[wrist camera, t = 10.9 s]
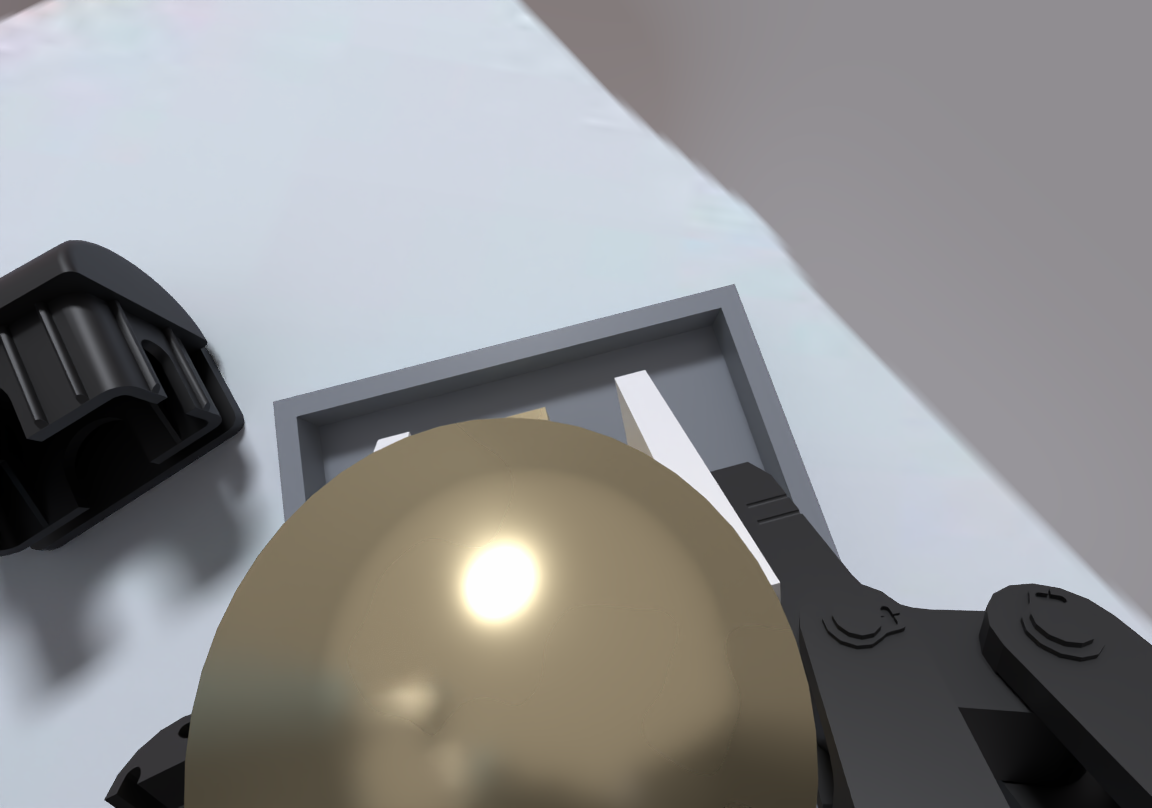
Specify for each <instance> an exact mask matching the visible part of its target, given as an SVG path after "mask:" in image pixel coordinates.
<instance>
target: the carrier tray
mask: <svg viewBox="0 0 1152 808" xmlns="http://www.w3.org/2000/svg"><path fill="white" fill-rule="evenodd" d="M643 370H646V372H647V374H648V375H649V377H650V378H651V380H652V381H653V383H654V385H655V386H656V388H657V389H658V391H659V392H660V394H661V396H662V397H663V399H664V400H665V402H666V403H667V405H668V407H669V408H670V410H671V411H672V413H673V415H674V416H675V418H676V419H677V421H678V422H679V424H680V426H681V427H682V429H683V430H684V432H685V433H686V435H687V437H688V438H689V440H690V441H691V443H692V444H693V446H694V448H695V449H696V451H697V452H698V454H699V455H700V457H701V459H702V460H703V462H704V463H705V465H706V467H707V468H708V470H709V471H710V472H711V471H715V470H719V469H722V468H726V467H730V466H734V465H737V464H741V463H745V462H749V463H751V464H753V465H755V466H756V467H758V468H760V469H762V470H764V471H765V472H767V473H769V474H771V475H772V476H773V478H774V479H775V480H776V481H777V483H778V484H779V485H780V486H781V488H782V489H783V490H784V491H785V493H786V495H787V497H788V498H790V499H791V500H792V501H793V502H794V504H795V505H796V506H797V507H798V509H799V511H800V513H801V514H803V515H804V516H805V517H806V519H807V520H808V521H809V522H810V524H811V525H812V526H813V527H814V528H815V530H816V531H817V532H818V533H819V535H820V536H821V537H822V538H823V540H824V541H825V542H826V543H827V545H828V546H829V547H830V548H831V550H832V551H833V552H834V553H835V554H836V556H837V557H838V558H839V559H840V557H839V555H838V552H837V549H836V547H835V544H834V542H833V539H832V536H831V534H830V531H829V529H828V526H827V523H826V521H825V518H824V516H823V513H822V510H821V508H820V505H819V503H818V500H817V497H816V495H815V492H814V490H813V487H812V484H811V482H810V479H809V477H808V474H807V471H806V469H805V466H804V464H803V461H802V458H801V456H800V453H799V451H798V448H797V445H796V443H795V440H794V438H793V435H792V432H791V430H790V427H789V425H788V422H787V419H786V417H785V414H784V411H783V409H782V406H781V404H780V401H779V398H778V396H777V393H776V391H775V388H774V385H773V383H772V380H771V378H770V375H769V372H768V370H767V367H766V365H765V362H764V359H763V357H762V354H761V352H760V349H759V346H758V344H757V341H756V339H755V336H754V333H753V331H752V328H751V326H750V323H749V320H748V318H747V315H746V313H745V310H744V307H743V305H742V302H741V300H740V297H739V294H738V292H737V289H736V287H735V284H733V285H729V286H725V287H721V288H717V289H713V290H709V291H705V292H701V293H697V294H694V295H690V296H686V297H682V298H678V299H674V300H670V301H666V302H662V303H658V304H654V305H651V306H647V307H643V308H639V309H635V310H631V311H627V312H623V313H619V314H615V315H611V316H607V317H604V318H600V319H596V320H592V321H588V322H584V323H580V324H576V325H572V326H568V327H564V328H561V329H557V330H553V331H549V332H545V333H541V334H537V335H533V336H529V337H525V338H521V339H517V340H514V341H510V342H506V343H502V344H498V345H494V346H490V347H486V348H482V349H478V350H474V351H471V352H467V353H463V354H459V355H455V356H451V357H447V358H443V359H439V360H435V361H431V362H427V363H424V364H420V365H416V366H412V367H408V368H404V369H400V370H396V371H392V372H388V373H384V374H381V375H377V376H373V377H369V378H365V379H361V380H357V381H353V382H349V383H345V384H341V385H337V386H334V387H330V388H326V389H322V390H318V391H314V392H310V393H306V394H302V395H298V396H294V397H291V398H287V399H283V400H279V401H275V402H273V405H274V416H275V426H276V436H277V447H278V457H279V467H280V478H281V488H282V498H283V509H284V519H285V522H286V521H287V520H288V519H289V518H290V517H291V516H292V515H293V514H294V513H295V512H296V511H297V510H298V509H299V508H300V507H301V506H302V505H303V504H304V503H305V502H306V501H307V500H308V499H309V498H310V497H311V496H312V495H313V494H315V493H316V492H317V491H318V490H320V489H321V488H322V487H323V486H325V485H326V484H327V483H328V482H330V481H331V480H332V479H333V478H335V477H336V476H337V475H338V474H340V473H341V472H343V471H344V470H346V469H347V468H349V467H351V466H352V465H354V464H355V463H357V462H359V461H360V460H362V459H363V458H365V457H367V456H368V455H370V454H371V453H373V452H374V449H375V447H376V444H377V441H378V440H379V439H383V438H387V437H391V436H395V435H399V434H402V433H406V432H410V434H411V436H412V435H415V434H418V433H421V432H424V431H427V430H430V429H433V428H436V427H439V426H444V425H449V424H455V423H460V422H465V421H470V420H478V419H493V418H506V417H509V416H512V415H516V414H520V413H524V412H528V411H531V410H535V409H539V408H543V407H545V408H546V411H547V413H548V416H549V418H550V421H553V422H558V423H563V424H569V425H574V426H579V427H582V428H585V429H588V430H591V431H594V432H597V433H600V434H603V435H606V436H609V437H612V438H614V439H616V440H618V441H620V442H622V443H624V444H627V445H628V443H627V438H626V433H625V428H624V423H623V418H622V413H621V409H620V404H619V399H618V394H617V389H616V384H615V379H614V378H616V377H620V376H624V375H628V374H632V373H635V372H639V371H643ZM840 561H841V560H840ZM816 808H818V806H817V805H816Z"/></svg>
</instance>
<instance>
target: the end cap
mask: <svg viewBox="0 0 1152 808" xmlns="http://www.w3.org/2000/svg"><path fill="white" fill-rule="evenodd" d="M206 345H207V341H206V339H205V337H204V336H203V334H202V332H201V331H200V329H199V328H198V327H197V325H196V324H195V322H194V321H193V320H192V318H191V317H190V316H189V315H188V314H187V312H186V311H185V310H184V309H183V308H182V307H181V306H180V305H179V304H178V302H177V301H176V300H175V299H174V298H173V297H172V296H171V295H170V294H169V293H168V292H167V291H165V290H164V289H163V288H162V287H161V286H160V285H159V284H158V283H157V282H155V281H154V280H153V279H152V278H151V277H150V276H148V275H147V274H146V273H144V272H143V271H142V270H141V269H139V268H138V267H137V266H135V265H134V264H132V263H131V262H129V261H128V260H126V259H125V258H123V257H121V256H120V255H118V254H116V253H114V252H112V251H110V250H109V249H107V248H104V247H102V246H99V245H97V244H94V243H90V242H86V241H82V240H69V241H66V242H64V243H62V244H60V245H58V246H56V247H54V248H53V249H51V250H49V251H47V252H45V253H44V254H42V255H40V256H38V257H37V258H35V259H33V260H31V261H30V262H28V263H26V264H24V265H22V266H21V267H19V268H17V269H15V270H14V271H12V272H10V273H8V274H7V275H5V276H3V277H1V278H0V556H5V555H10V554H13V553H17V552H19V551H22V550H24V549H26V548H28V547H31V548H32V549H36V550H54V549H56V548H59V547H61V546H63V545H64V544H66V543H67V542H69V541H70V540H72V539H73V538H75V537H77V536H78V535H80V534H81V533H83V532H84V531H86V530H87V529H89V528H91V527H92V526H94V525H95V524H97V523H98V522H100V521H101V520H103V519H105V518H106V517H108V516H109V515H111V514H112V513H114V512H115V511H117V510H119V509H120V508H122V507H123V506H125V505H126V504H128V503H129V502H131V501H133V500H134V499H136V498H137V497H139V496H140V495H142V494H143V493H145V492H147V491H148V490H150V489H151V488H153V487H154V486H156V485H157V484H159V483H161V482H162V481H164V480H165V479H167V478H168V477H170V476H171V475H173V474H175V473H176V472H178V471H179V470H181V469H182V468H184V467H185V466H187V465H189V464H190V463H192V462H193V461H195V460H196V459H198V458H199V457H201V456H202V455H204V454H206V453H207V452H209V451H210V450H212V449H213V448H215V447H216V446H218V445H220V444H221V443H223V442H224V441H226V440H227V439H229V438H230V437H232V436H234V435H235V434H237V433H238V432H239V431H240V430H241V429H242V427H243V423H244V418H243V414H242V412H241V410H240V408H239V407H238V405H237V403H236V401H235V399H234V397H233V396H232V394H231V392H230V390H229V388H228V386H227V384H226V383H225V381H224V379H223V377H222V375H221V373H220V371H219V370H218V368H217V366H216V364H215V362H214V360H213V358H212V357H211V355H210V354H209V352H208V351H207V349H206V348H205V346H206Z"/></svg>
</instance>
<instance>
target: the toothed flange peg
mask: <svg viewBox="0 0 1152 808" xmlns="http://www.w3.org/2000/svg"><path fill="white" fill-rule="evenodd" d="M817 792H818V763H817V741H816V728H815V722H814V716H813V710H812V703H811V697H810V691H809V685H808V681H807V678H806V674H805V671H804V667H803V664H802V660H801V657H800V653H799V650H798V646H797V642H796V639H795V637H794V634H793V632H792V630H791V627H790V625H789V622H788V620H787V618H786V615H785V613H784V610H783V608H782V606H781V603H780V601H779V598H778V597H777V595H776V593H775V591H774V589H773V588H772V586H771V584H770V582H769V581H768V579H767V577H766V575H765V573H764V572H763V570H762V568H761V566H760V564H759V563H758V561H757V560H756V558H755V557H754V555H753V554H752V553H751V551H750V550H749V549H748V547H747V546H746V544H745V543H744V542H743V540H742V539H741V538H740V536H739V535H738V533H737V532H736V531H735V529H734V528H733V527H732V526H731V525H730V524H729V523H728V521H727V520H726V519H725V518H724V517H723V516H722V515H721V514H720V513H719V512H718V511H717V510H716V509H715V508H714V506H713V505H712V504H711V503H710V502H709V501H708V500H707V499H706V498H705V497H704V496H703V495H701V494H700V493H699V492H698V491H697V490H695V489H694V488H693V487H692V486H691V485H689V484H688V483H687V482H686V481H685V480H683V479H682V478H681V477H680V476H679V475H677V474H676V473H675V472H673V471H672V470H670V469H669V468H667V467H665V466H664V465H662V464H661V463H659V462H658V461H656V460H655V459H653V458H651V457H650V456H648V455H647V454H645V453H643V452H641V451H639V450H637V449H635V448H633V447H631V446H629V445H627V444H624V443H622V442H620V441H618V440H616V439H614V438H612V437H609V436H606V435H603V434H600V433H597V432H594V431H591V430H588V429H585V428H582V427H579V426H574V425H569V424H563V423H558V422H553V421H550V418H549V416H548V413H547V411H546V408H545V407H543V408H539V409H535V410H531V411H528V412H524V413H520V414H516V415H512V416H509V417H506V418H493V419H478V420H470V421H465V422H460V423H455V424H449V425H444V426H439V427H436V428H433V429H430V430H427V431H424V432H421V433H418V434H415V435H412V436H409V437H406V438H403V439H401V440H399V441H397V442H395V443H393V444H390V445H388V446H386V447H384V448H382V449H380V450H378V451H375V452H373V453H371V454H370V455H368V456H367V457H365V458H363V459H362V460H360V461H359V462H357V463H355V464H354V465H352V466H351V467H349V468H347V469H346V470H344V471H343V472H341V473H340V474H338V475H337V476H336V477H335V478H333V479H332V480H331V481H330V482H328V483H327V484H326V485H325V486H323V487H322V488H321V489H320V490H318V491H317V492H316V493H315V494H313V495H312V496H311V497H310V498H309V499H308V500H307V501H306V502H305V503H304V504H303V505H302V506H301V507H300V508H299V509H298V510H297V511H296V512H295V513H294V514H293V515H292V516H291V517H290V518H289V519H288V520H287V521H286V522H285V523H284V524H283V525H282V526H281V528H280V529H279V530H278V531H277V533H276V534H275V535H274V536H273V538H272V539H271V540H270V541H269V543H268V544H267V545H266V546H265V548H264V549H263V550H262V551H261V553H260V554H259V555H258V557H257V558H256V560H255V561H254V563H253V565H252V566H251V568H250V569H249V571H248V572H247V574H246V576H245V577H244V579H243V580H242V582H241V584H240V585H239V587H238V588H237V590H236V592H235V594H234V596H233V598H232V600H231V602H230V604H229V606H228V608H227V610H226V612H225V614H224V616H223V618H222V620H221V622H220V624H219V626H218V628H217V631H216V634H215V636H214V639H213V642H212V645H211V647H210V650H209V653H208V656H207V658H206V661H205V664H204V667H203V669H202V673H201V677H200V681H199V685H198V689H197V693H196V697H195V701H194V706H193V710H192V714H191V720H190V728H189V735H188V743H187V751H186V758H185V790H184V808H816V805H817Z"/></svg>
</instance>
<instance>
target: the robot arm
mask: <svg viewBox="0 0 1152 808" xmlns="http://www.w3.org/2000/svg"><path fill="white" fill-rule="evenodd" d="M614 379H615V384H616V389H617V394H618V399H619V404H620V409H621V413H622V418H623V423H624V428H625V433H626V438H627V443H628V445H629V446H631V447H633V448H635V449H637V450H639V451H641V452H643V453H645V454H647V455H648V456H650V457H651V458H653V459H655V460H656V461H658V462H659V463H661V464H662V465H664V466H665V467H667V468H669V469H670V470H672V471H673V472H675V473H676V474H677V475H679V476H680V477H681V478H682V479H683V480H685V481H686V482H687V483H688V484H689V485H691V486H692V487H693V488H694V489H695V490H697V491H698V492H699V493H700V494H701V495H703V496H704V497H705V498H706V499H707V500H708V501H709V502H710V503H711V504H712V505H713V506H714V508H715V509H716V510H717V511H718V512H719V513H720V514H721V515H722V516H723V517H724V518H725V519H726V520H727V521H728V523H729V524H730V525H731V526H732V527H733V528H734V529H735V531H736V532H737V533H738V535H739V536H740V538H741V539H742V540H743V542H744V543H745V544H746V546H747V547H748V549H749V550H750V551H751V553H752V554H753V555H754V557H755V558H756V560H757V561H758V563H759V564H760V566H761V568H762V570H763V572H764V573H765V575H766V577H767V579H768V581H769V582H770V584H771V586H772V588H773V589H774V591H775V593H776V595H777V597H778V598H779V601H780V603H781V606H782V608H783V610H784V613H785V615H786V618H787V620H788V622H789V625H790V627H791V630H792V632H793V634H794V637H795V639H796V642H797V646H798V650H799V653H800V657H801V660H802V664H803V667H804V671H805V674H806V678H807V681H808V685H809V691H810V697H811V703H812V710H813V716H814V722H815V728H816V741H817V763H818V792H817V806H818V808H1152V645H1151V644H1150V643H1148V642H1147V641H1146V640H1145V639H1143V638H1142V637H1141V636H1140V635H1138V634H1137V633H1136V632H1135V631H1133V630H1132V629H1131V628H1130V627H1128V626H1127V625H1126V624H1124V623H1123V622H1122V621H1121V620H1119V619H1118V618H1117V617H1116V616H1114V615H1113V614H1111V613H1110V612H1108V611H1106V610H1105V609H1103V608H1102V607H1100V606H1098V605H1097V604H1095V603H1094V602H1092V601H1090V600H1089V599H1087V598H1084V597H1081V596H1079V595H1076V594H1074V593H1071V592H1068V591H1066V590H1063V589H1061V588H1056V587H1050V586H1044V585H1038V584H1021V585H1009V586H1007V587H1005V588H1004V589H1002V590H1000V591H998V592H996V593H994V594H993V595H992V597H991V599H990V601H989V603H988V605H987V607H986V611H962V610H929V609H920V608H912V607H908V606H904V605H901V604H899V603H897V602H896V601H894V600H893V599H891V598H890V597H889V596H887V595H886V594H884V593H883V592H881V591H879V590H876V589H873V588H871V587H868V586H865V585H862V584H861V583H860V582H859V581H858V580H857V579H856V578H855V577H854V576H853V575H852V574H851V573H850V572H849V571H848V569H847V568H846V567H845V566H844V564H843V563H842V562H841V561H840V559H839V558H838V557H837V556H836V554H835V553H834V552H833V551H832V550H831V548H830V547H829V546H828V545H827V543H826V542H825V541H824V540H823V538H822V537H821V536H820V535H819V533H818V532H817V531H816V530H815V528H814V527H813V526H812V525H811V524H810V522H809V521H808V520H807V519H806V517H805V516H804V515H803V514H801V513H800V511H799V509H798V507H797V506H796V505H795V504H794V502H793V501H792V500H791V499H790V498H788V497H787V495H786V493H785V491H784V490H783V489H782V488H781V486H780V485H779V484H778V483H777V481H776V480H775V479H774V478H773V476H772V475H771V474H769V473H767V472H765V471H764V470H762V469H760V468H758V467H756V466H755V465H753V464H751V463H749V462H745V463H741V464H737V465H734V466H730V467H726V468H722V469H719V470H715V471H711V472H710V471H709V470H708V468H707V467H706V465H705V463H704V462H703V460H702V459H701V457H700V455H699V454H698V452H697V451H696V449H695V448H694V446H693V444H692V443H691V441H690V440H689V438H688V437H687V435H686V433H685V432H684V430H683V429H682V427H681V426H680V424H679V422H678V421H677V419H676V418H675V416H674V415H673V413H672V411H671V410H670V408H669V407H668V405H667V403H666V402H665V400H664V399H663V397H662V396H661V394H660V392H659V391H658V389H657V388H656V386H655V385H654V383H653V381H652V380H651V378H650V377H649V375H648V374H647V372H646V370H643V371H639V372H635V373H632V374H628V375H624V376H620V377H616V378H614ZM409 436H411V434H410V432H406V433H402V434H399V435H395V436H391V437H387V438H383V439H379V440H378V441H377V444H376V447H375V449H374V452H375V451H378V450H380V449H382V448H384V447H386V446H388V445H390V444H393V443H395V442H397V441H399V440H401V439H403V438H406V437H409ZM190 720H191V715H188V716H185V717H183V718H181V719H179V720H178V721H176V722H174V723H173V724H171V725H169V726H168V727H166V728H164V729H163V730H161V731H160V732H159V733H158V734H156V735H155V736H154V737H153V738H152V739H151V740H150V741H148V742H147V743H146V744H145V745H144V746H143V747H141V748H140V749H139V750H138V751H137V752H136V753H135V755H134V756H133V757H132V758H131V759H130V761H129V762H128V763H127V764H126V766H125V767H124V768H123V769H122V770H121V772H120V773H119V774H118V775H117V777H116V779H115V781H114V783H113V785H112V786H111V788H110V790H109V792H108V794H107V796H106V798H105V799H104V800H105V801H107V802H108V803H110V804H111V805H112V806H114V807H115V808H184V790H185V758H186V751H187V743H188V735H189V728H190Z"/></svg>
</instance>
